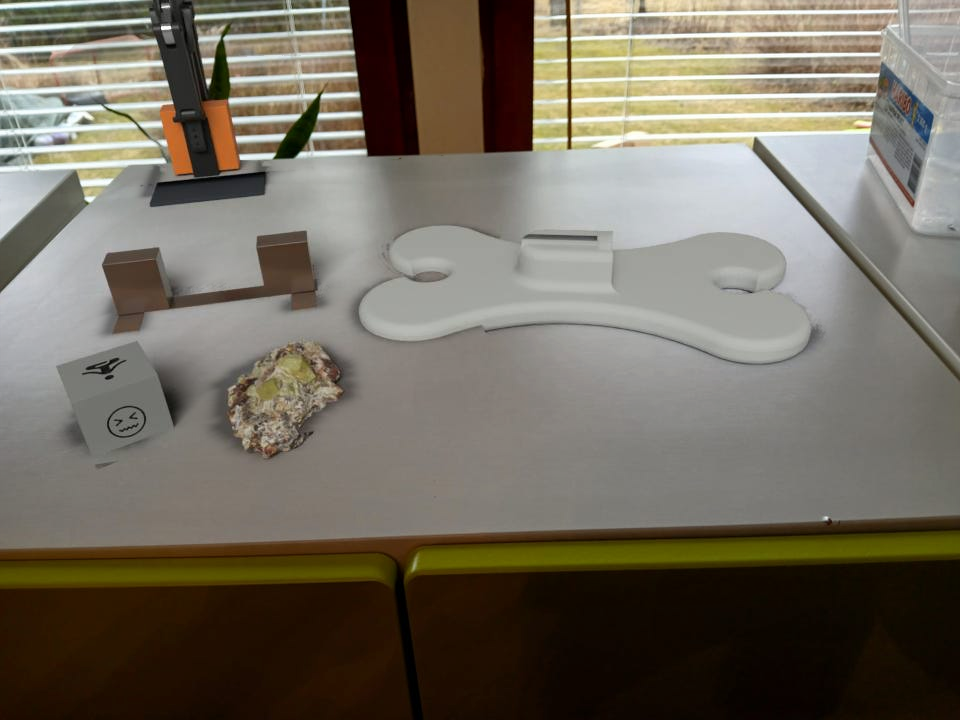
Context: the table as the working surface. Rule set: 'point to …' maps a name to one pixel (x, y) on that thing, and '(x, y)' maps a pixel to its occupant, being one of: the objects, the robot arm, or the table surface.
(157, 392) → the dice cube
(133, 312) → the stand
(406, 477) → the table surface
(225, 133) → the orange flat square block
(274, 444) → the mineral rock
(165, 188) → the mat
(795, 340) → the holder
